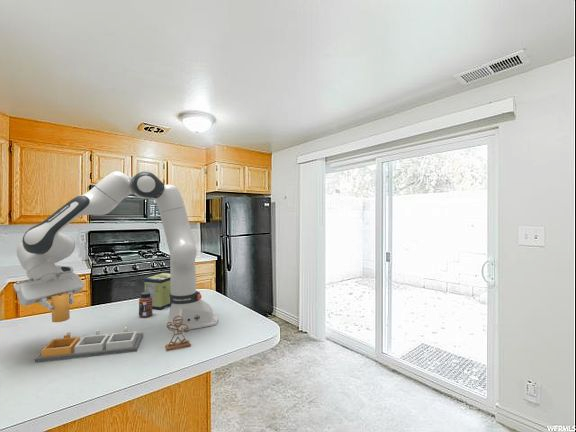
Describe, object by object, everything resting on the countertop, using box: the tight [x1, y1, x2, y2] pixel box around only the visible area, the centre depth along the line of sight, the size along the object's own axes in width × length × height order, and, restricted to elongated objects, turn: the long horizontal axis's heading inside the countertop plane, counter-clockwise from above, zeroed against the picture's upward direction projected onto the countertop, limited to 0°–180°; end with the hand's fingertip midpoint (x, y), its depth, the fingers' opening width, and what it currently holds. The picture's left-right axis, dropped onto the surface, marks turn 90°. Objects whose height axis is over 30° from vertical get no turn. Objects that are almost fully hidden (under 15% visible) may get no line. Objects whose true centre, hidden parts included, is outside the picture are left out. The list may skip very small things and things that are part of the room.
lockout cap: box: [50, 293, 70, 323], centre depth 113 cm, size 5×5×9 cm
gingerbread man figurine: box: [164, 316, 191, 352], centre depth 119 cm, size 9×4×12 cm, turn 118°
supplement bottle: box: [138, 291, 153, 318], centre depth 151 cm, size 6×6×11 cm
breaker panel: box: [33, 326, 144, 364], centre depth 118 cm, size 32×14×5 cm, turn 106°
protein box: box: [144, 272, 171, 311], centre depth 168 cm, size 10×16×16 cm
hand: (61, 306), depth 113 cm, fingers closed on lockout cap, 5 cm apart
